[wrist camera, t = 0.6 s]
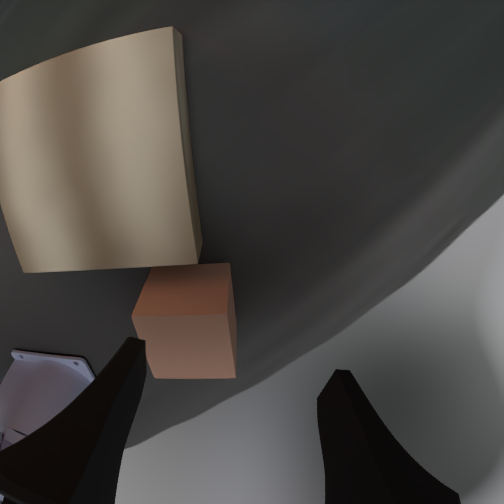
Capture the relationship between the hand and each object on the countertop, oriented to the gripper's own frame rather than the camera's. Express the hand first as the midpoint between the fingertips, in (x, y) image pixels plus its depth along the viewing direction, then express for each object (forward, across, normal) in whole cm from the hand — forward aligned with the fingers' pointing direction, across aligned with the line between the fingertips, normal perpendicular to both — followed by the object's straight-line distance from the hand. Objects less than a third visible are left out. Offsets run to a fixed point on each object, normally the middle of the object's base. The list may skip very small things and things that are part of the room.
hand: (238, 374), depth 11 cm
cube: (+9, +2, +4) cm, 10 cm away
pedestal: (+10, +10, -4) cm, 14 cm away
